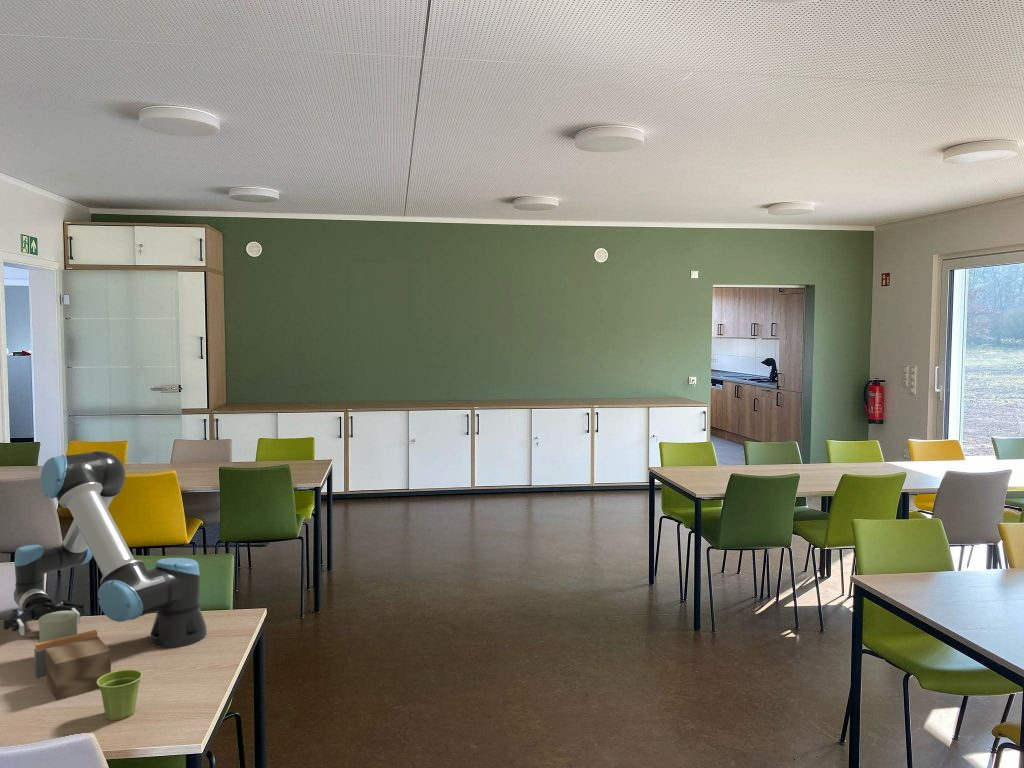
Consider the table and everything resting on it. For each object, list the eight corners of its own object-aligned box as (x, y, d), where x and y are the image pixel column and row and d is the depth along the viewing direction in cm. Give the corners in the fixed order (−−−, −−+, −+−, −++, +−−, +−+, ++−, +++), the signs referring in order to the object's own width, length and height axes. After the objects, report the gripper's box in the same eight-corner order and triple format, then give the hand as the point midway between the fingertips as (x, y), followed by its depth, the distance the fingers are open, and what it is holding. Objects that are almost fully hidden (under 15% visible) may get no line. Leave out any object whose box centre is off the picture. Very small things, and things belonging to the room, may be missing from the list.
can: (61, 665, 200) (60, 621, 200) (31, 663, 202) (29, 619, 201) (86, 652, 209) (85, 609, 209) (57, 649, 211) (56, 607, 210)
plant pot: (108, 705, 179) (107, 669, 178) (149, 703, 179) (148, 668, 179) (89, 725, 169) (88, 687, 169) (133, 723, 170) (132, 686, 170)
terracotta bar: (95, 635, 203) (95, 629, 203) (97, 637, 202) (97, 631, 202) (35, 649, 194) (35, 643, 194) (36, 651, 192) (36, 645, 192)
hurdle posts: (96, 660, 204) (96, 635, 203) (99, 663, 202) (98, 637, 202) (34, 675, 194) (34, 649, 194) (36, 678, 192) (36, 652, 192)
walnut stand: (98, 670, 198) (97, 636, 197) (111, 685, 189) (110, 650, 188) (46, 683, 190) (45, 648, 189) (56, 700, 181) (55, 664, 180)
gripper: (83, 607, 236) (100, 626, 220) (-14, 627, 219) (-2, 649, 203) (82, 583, 235) (100, 601, 219) (-14, 601, 218) (-3, 622, 203)
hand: (51, 624), depth 211 cm, fingers open, 13 cm apart
